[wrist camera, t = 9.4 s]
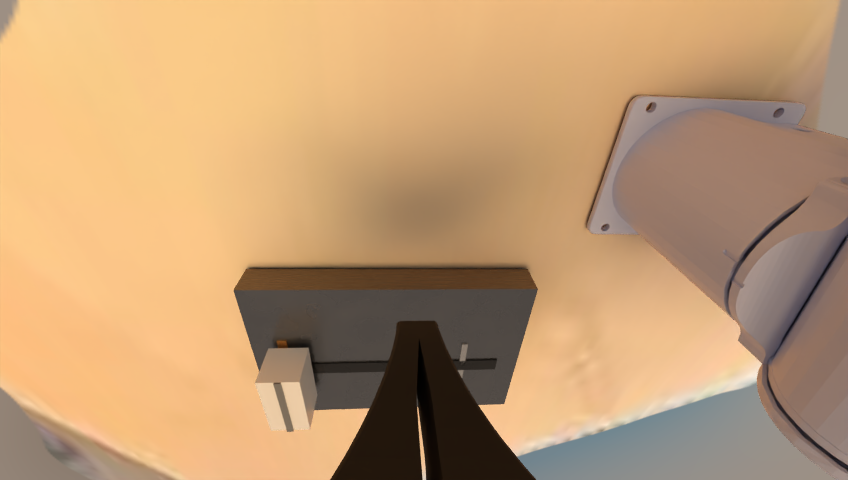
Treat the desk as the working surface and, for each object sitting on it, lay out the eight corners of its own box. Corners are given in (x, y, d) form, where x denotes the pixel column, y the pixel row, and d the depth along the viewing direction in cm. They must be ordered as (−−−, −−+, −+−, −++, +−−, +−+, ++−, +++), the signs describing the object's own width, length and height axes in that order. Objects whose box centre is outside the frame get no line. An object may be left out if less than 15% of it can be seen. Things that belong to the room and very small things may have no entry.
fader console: (527, 269, 23) (538, 290, 21) (498, 382, 30) (504, 405, 28) (246, 269, 22) (232, 291, 20) (279, 387, 28) (271, 412, 26)
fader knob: (308, 347, 22) (299, 383, 20) (317, 394, 25) (309, 430, 23) (268, 348, 22) (254, 384, 20) (281, 395, 25) (270, 432, 23)
